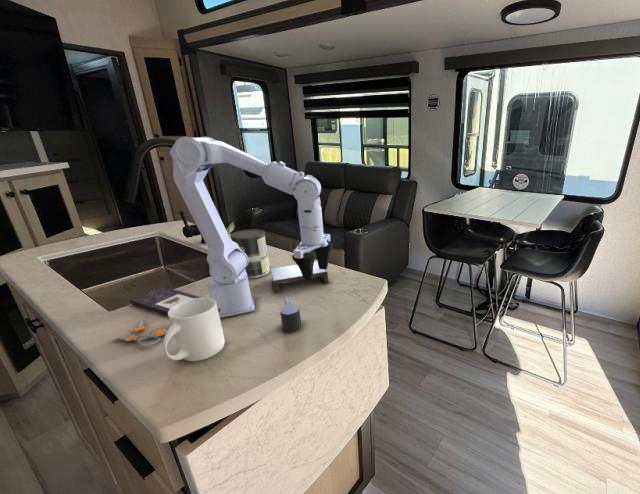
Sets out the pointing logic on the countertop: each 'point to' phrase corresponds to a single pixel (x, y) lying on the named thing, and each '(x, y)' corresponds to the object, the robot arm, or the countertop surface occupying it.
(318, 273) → the shelf
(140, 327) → the key chain
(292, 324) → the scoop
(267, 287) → the countertop surface
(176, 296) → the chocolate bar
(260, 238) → the coffee can
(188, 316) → the mug
